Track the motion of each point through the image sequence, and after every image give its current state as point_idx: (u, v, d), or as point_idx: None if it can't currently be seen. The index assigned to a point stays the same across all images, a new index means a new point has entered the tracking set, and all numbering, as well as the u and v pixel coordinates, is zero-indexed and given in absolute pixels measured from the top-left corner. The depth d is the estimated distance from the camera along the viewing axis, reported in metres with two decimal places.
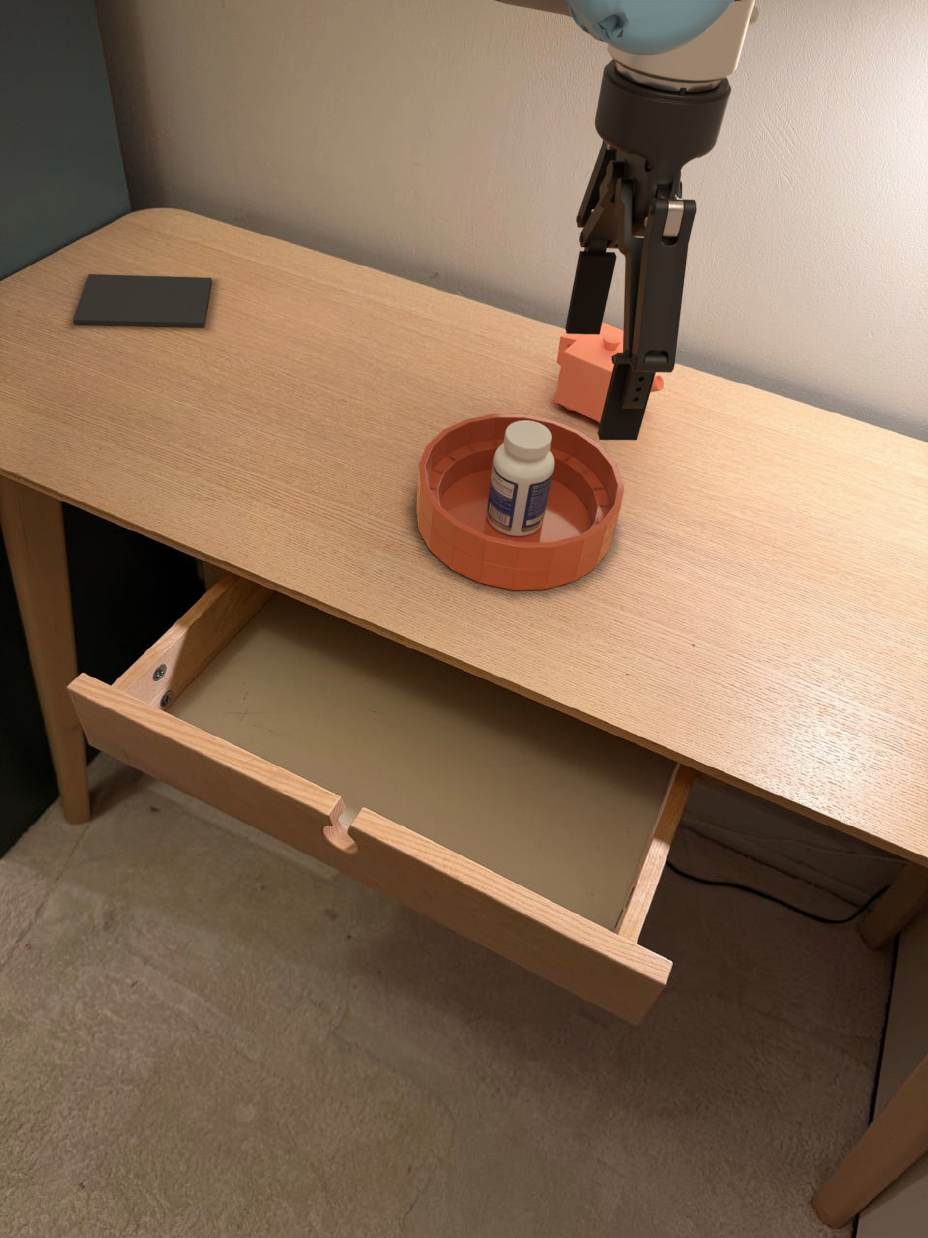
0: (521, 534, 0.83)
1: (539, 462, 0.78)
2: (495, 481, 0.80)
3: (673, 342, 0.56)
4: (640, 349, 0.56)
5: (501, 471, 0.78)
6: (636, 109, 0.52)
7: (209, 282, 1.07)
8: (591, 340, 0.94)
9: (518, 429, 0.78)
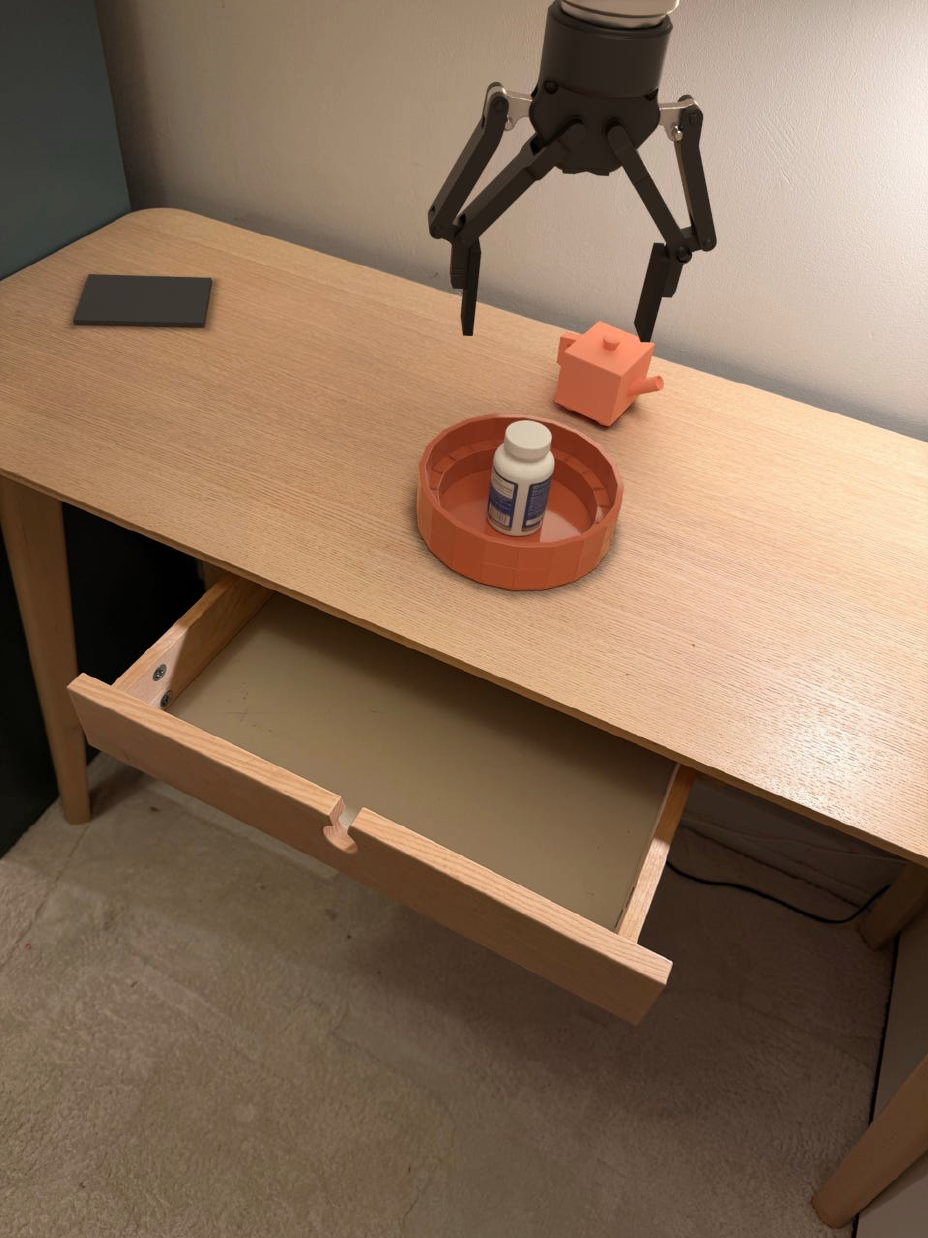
0: (521, 534, 0.83)
1: (539, 462, 0.78)
2: (495, 481, 0.80)
3: None
4: (714, 228, 0.63)
5: (501, 471, 0.78)
6: (663, 48, 0.53)
7: (209, 282, 1.07)
8: (591, 340, 0.94)
9: (518, 429, 0.78)
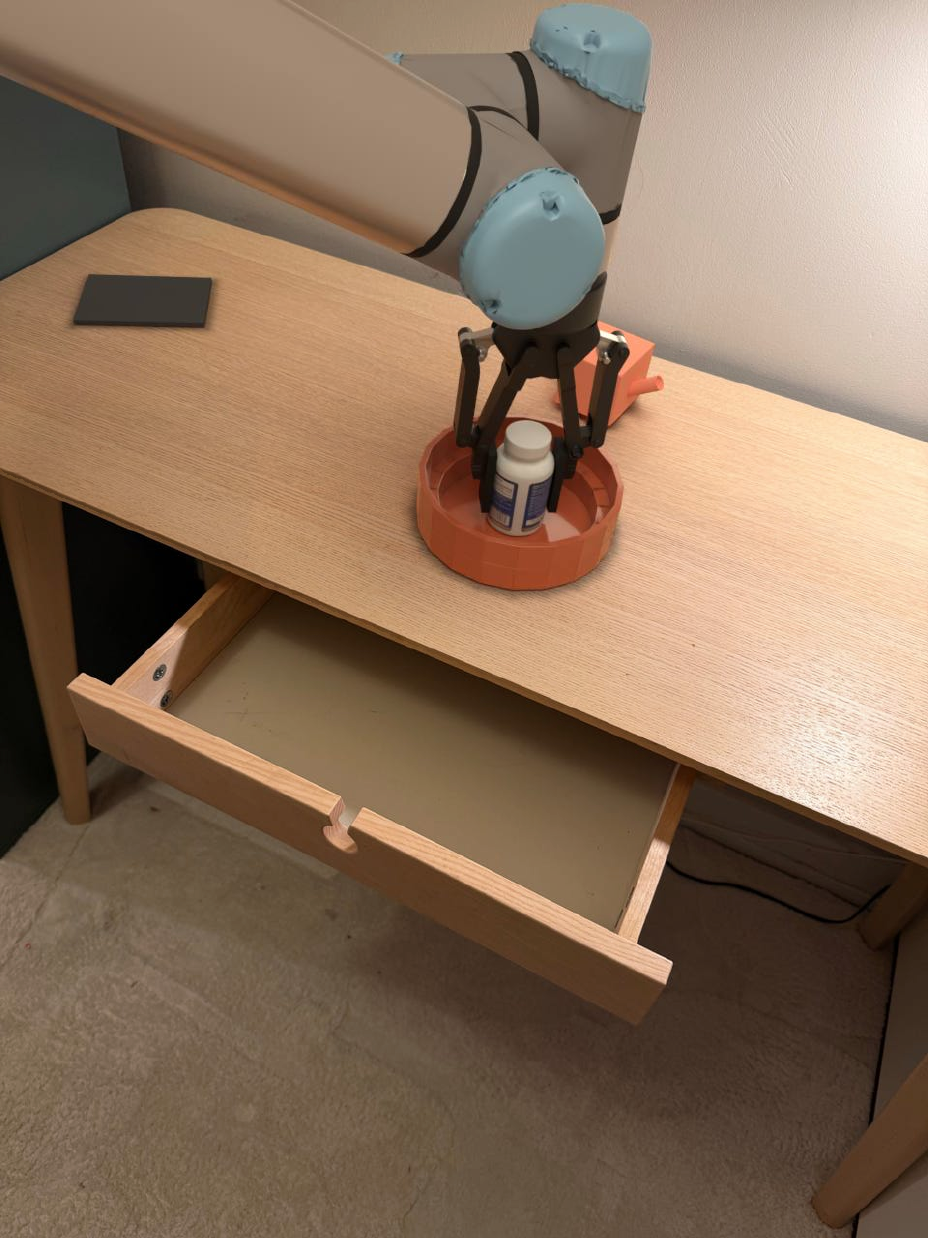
0: (521, 534, 0.83)
1: (539, 462, 0.78)
2: (495, 481, 0.80)
3: None
4: (605, 433, 0.77)
5: (500, 471, 0.78)
6: (599, 296, 0.66)
7: (209, 282, 1.07)
8: None
9: (518, 429, 0.78)
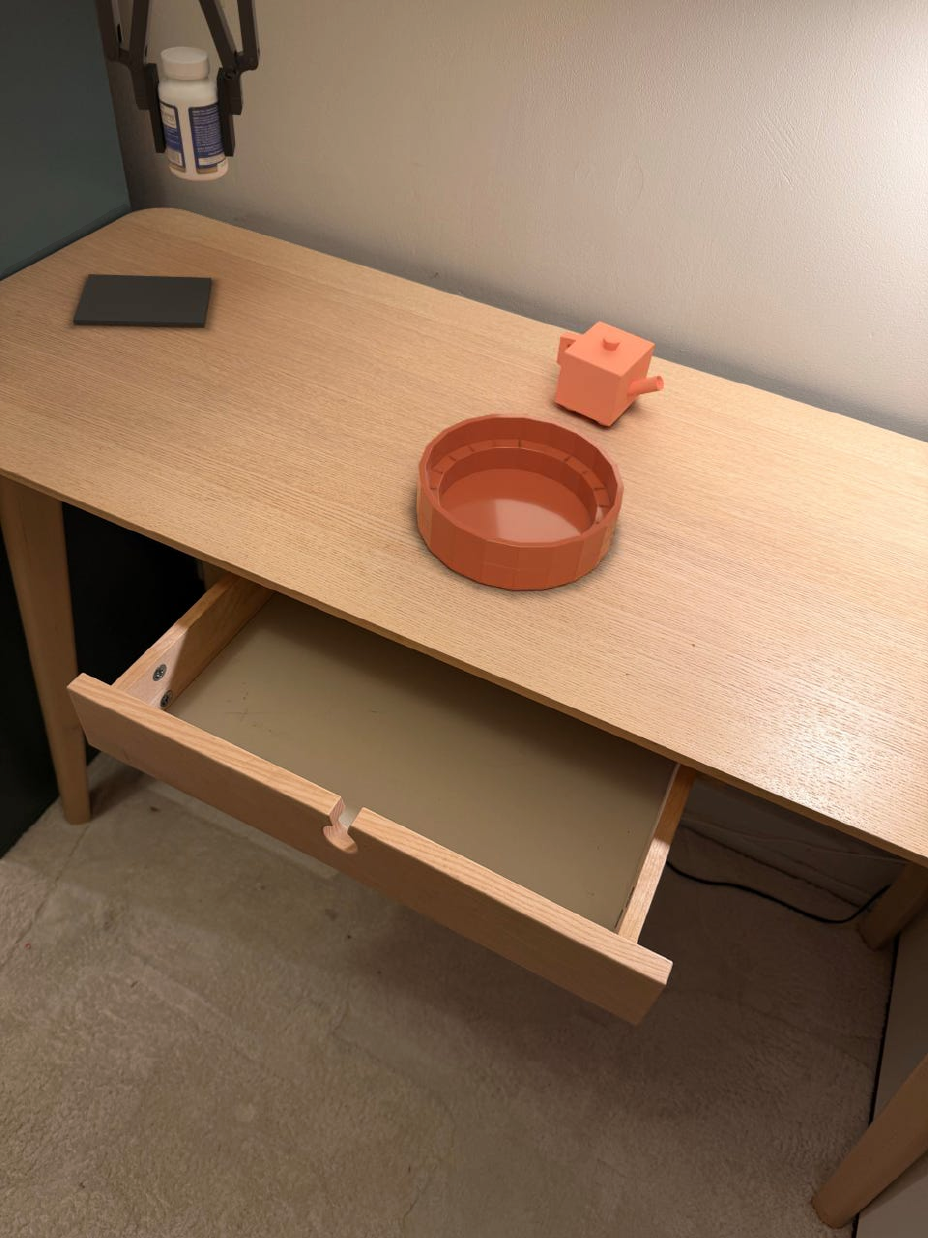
0: (198, 177, 0.84)
1: (196, 84, 0.79)
2: (161, 111, 0.81)
3: (258, 37, 0.79)
4: (257, 51, 0.78)
5: (160, 95, 0.79)
6: None
7: (209, 282, 1.07)
8: (591, 340, 0.94)
9: (175, 50, 0.79)
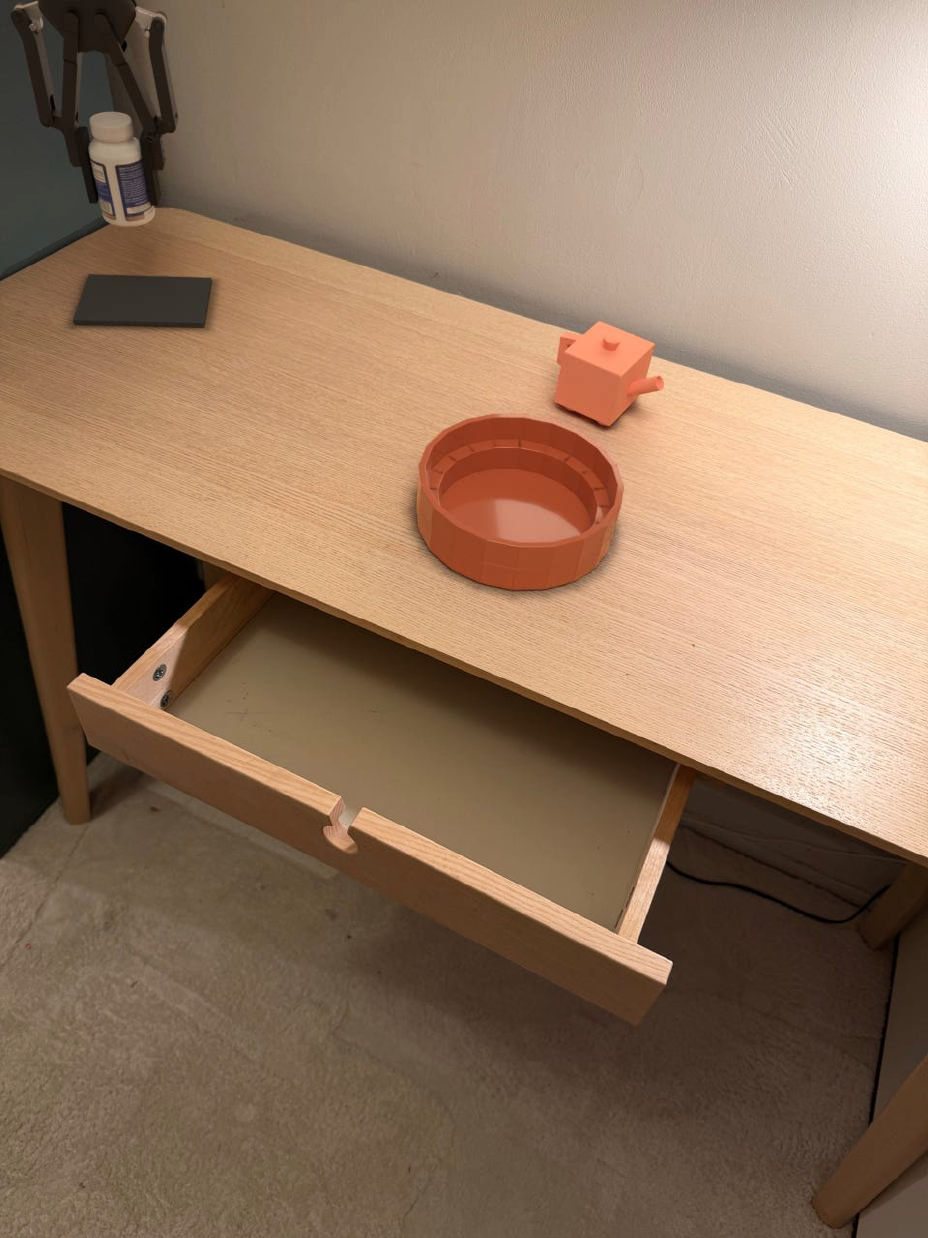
0: (127, 224, 0.95)
1: (121, 145, 0.90)
2: (92, 168, 0.92)
3: (175, 104, 0.90)
4: (174, 117, 0.89)
5: (90, 155, 0.91)
6: None
7: (209, 282, 1.07)
8: (591, 340, 0.94)
9: (102, 116, 0.90)
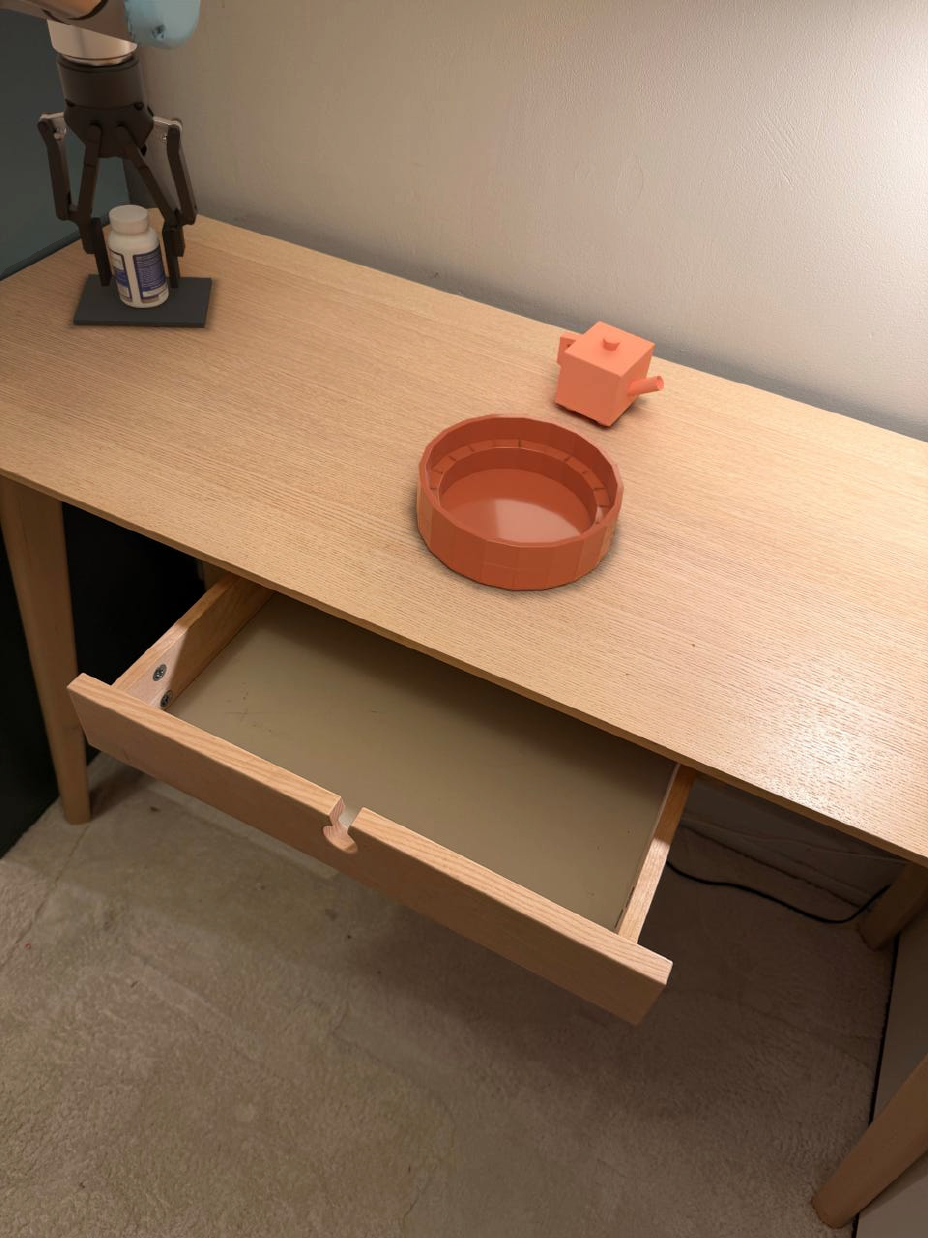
0: (143, 305, 1.02)
1: (138, 236, 0.97)
2: (111, 256, 0.99)
3: (194, 198, 0.97)
4: (193, 211, 0.96)
5: (110, 245, 0.98)
6: (128, 77, 0.85)
7: (209, 282, 1.07)
8: (591, 340, 0.94)
9: (121, 209, 0.97)
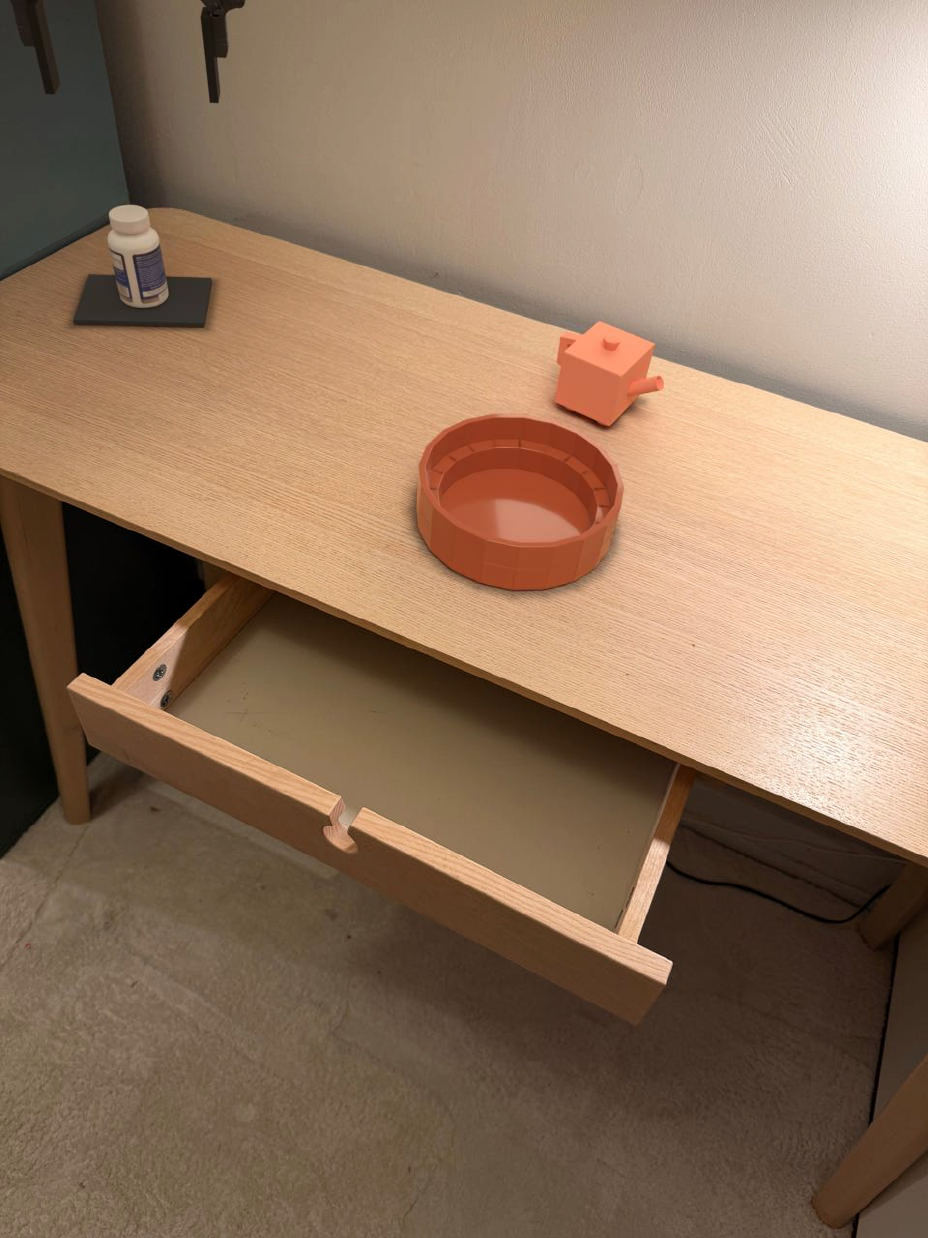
0: (143, 305, 1.02)
1: (138, 236, 0.97)
2: (111, 256, 0.99)
3: None
4: None
5: (109, 245, 0.98)
6: None
7: (209, 282, 1.07)
8: (591, 340, 0.94)
9: (121, 209, 0.97)
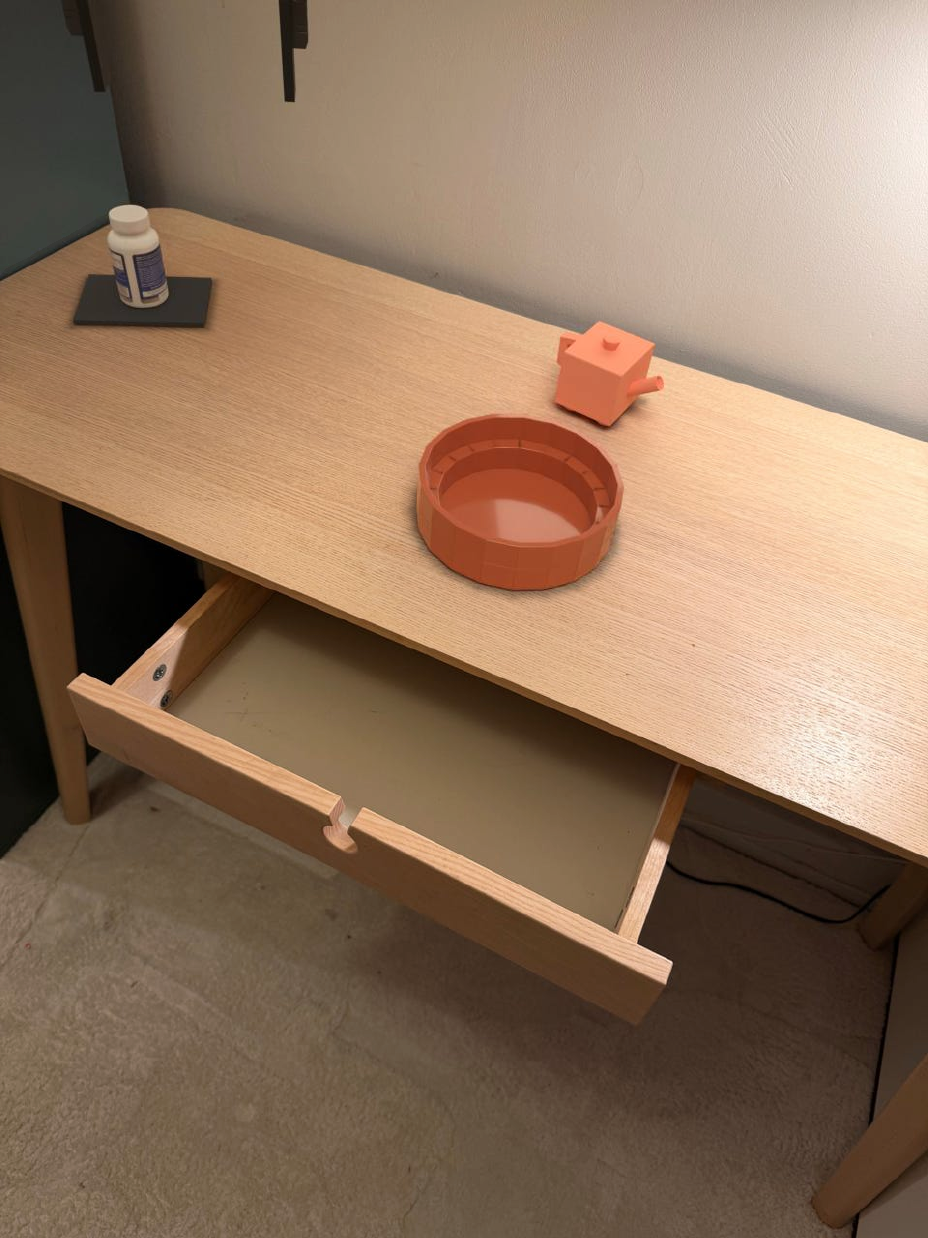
0: (143, 305, 1.02)
1: (138, 236, 0.97)
2: (111, 256, 0.99)
3: None
4: None
5: (109, 245, 0.98)
6: None
7: (209, 282, 1.07)
8: (591, 340, 0.94)
9: (121, 209, 0.97)
